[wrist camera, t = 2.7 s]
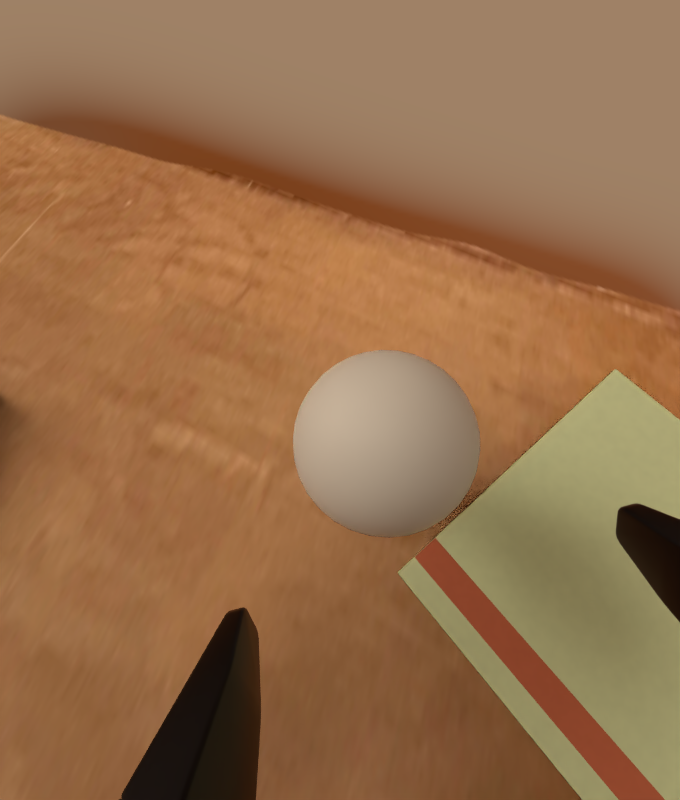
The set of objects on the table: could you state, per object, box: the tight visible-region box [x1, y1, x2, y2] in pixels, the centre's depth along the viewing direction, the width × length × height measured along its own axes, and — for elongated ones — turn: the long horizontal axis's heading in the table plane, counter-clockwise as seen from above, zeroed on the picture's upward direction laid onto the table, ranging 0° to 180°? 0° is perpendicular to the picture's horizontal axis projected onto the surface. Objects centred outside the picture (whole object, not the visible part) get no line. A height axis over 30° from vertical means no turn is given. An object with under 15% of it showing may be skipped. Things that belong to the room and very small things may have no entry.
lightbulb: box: [293, 350, 480, 538], centre depth 15 cm, size 6×6×11 cm
